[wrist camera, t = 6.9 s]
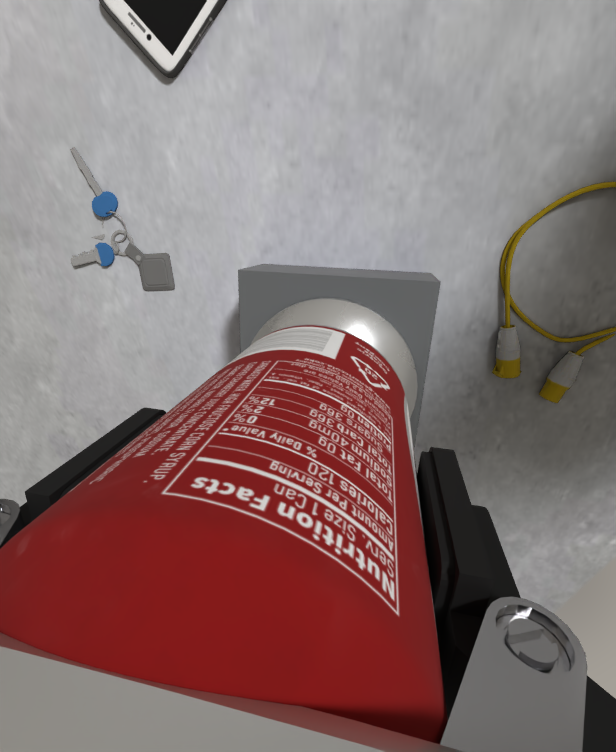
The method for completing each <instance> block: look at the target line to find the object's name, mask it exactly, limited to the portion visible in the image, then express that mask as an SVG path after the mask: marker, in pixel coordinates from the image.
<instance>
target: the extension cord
mask: <svg viewBox="0 0 616 752" xmlns="http://www.w3.org/2000/svg"><path fill="white" fill-rule="evenodd" d="M609 187H616V182H604V183H599V184H594V185H590V186H587V187H584V188H581V189H579V190H576V191H574V192H572V193H570V194H568V195H566V196H564V197H562V198H560V199H558V200H557V201H555V202H554V203H552V204H550V205H549V206H547V207H546V208H544V209H543V210H542V211H540V212H539V213H537V214H536V215H535V216H533V217H532V218H531V219H530V220H528V221H527V222H526V223H525V224H523V225H522V226H521V227H520V228H519V229H518V230H517V231H516V232H515V233H514V234H513V236H512V237H511V238H510V240H509V241H508V243H507V245H506V247H505V249H504V252H503V255H502V259H501V265H500V278H501V284H502V288H503V291H504V294H505V324H506V325H503V326H501V327H500V331H499V332H498V341H497V345H496V346H497V348H496V365H495V367H494V369H493V371H492V373H493V374H495V375H496V376H498V377H500V378H515V377H518V376H519V375H520V373H521V371H520V344H519V339H518V334H517V330H516V326H515V325H510V305H511V307H512V308H513V310H514V311H515V312H516V313H517V315H518V316H519V317H520V318H521V319H522V320H523V321H524V322H526V323H527V324H528V325H529V326H531V327H532V328H533V329H535V330H536V331H538V332H539V333H541V334H542V335H544V336H545V337H547V338H549V339H551V340H554V341H558V342H576V341H582V340H586V339H590V338H594V337H598V336H602V335H605V334H608V333H612V332H615V331H616V327H613V328H610V329H607V330H603V331H600V332H596V333H592V334H588V335H584V336H581V337H574V338H560V337H556V336H553V335H551V334H549V333H548V332H546V331H544V330H543V329H541V328H540V327H538V326H537V325H535V324H534V323H533V322H532V321H530V320H529V319H528V318H527V317H526V316H525V315H524V314H523V313H522V312H521V311H520V310H519V308H518V307H517V306H516V304H515V303H514V301H513V299H512V297H511V296H510V269H511V263H512V258H513V254H514V251H515V248H516V246H517V244H518V242H519V240H520V238H521V237H522V235H523V234H524V233H525V232H526V230H527V229H528V228H529V227H530V226H531V225H532V224H534V223H535V222H536V221H537V220H538V219H540V218H541V217H542V216H543V215H544V214H546V213H547V212H549V211H550V210H552V209H553V208H555V207H556V206H558V205H559V204H561V203H563V202H565V201H567V200H569V199H571V198H573V197H575V196H578V195H580V194H583V193H586V192H589V191H593V190H596V189H602V188H609ZM512 243H513V244H512ZM511 245H512V246H511ZM510 247H511V248H510ZM509 249H510V250H509ZM508 252H509V254H508ZM507 255H508V258H507ZM506 258H507V263H506ZM505 263H506V271H505ZM614 335H615V334H611V335H608V336H605V337H602V338H600V339H598V340H596V341H594V342H592V343H590V344H588V345H586V346H584V347H582V348H581V349H579V350H578V351H577V352H576V353H575V352H572V351H568V353H567V354H566V355H565V356H564V357H563V358H562V359H561V360H560V361H559V362H558V363H557V365H556V366H555V367H554V368H553V369H551V372H550V373H549V375H548V377H547V378H546V380H547V382H546V383H545V385H544V386H543V388H542V390H541V391H540V393H539V395H540V396H541V397H543V398H545V399H547V400H549V401H551V402H554V403H558V402H559V400H560V399H561V397H562V396H563V394H564V393H565V391H566V390H567V389H570V387H571V386H572V384H573V383H574V381H576V379H575V378H576V377H577V374H578V372H579V369H580V367H581V364H582V361H583V359H584V357H583V356H582V355H580V354H581V353H583V352H584V351H586V350H588V349H589V348H591V347H593V346H595V345H597V344H599V343H601V342H603V341H605V340H607V339H609V338H611V337H612V336H614Z"/></svg>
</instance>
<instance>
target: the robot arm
mask: <svg viewBox="0 0 616 752" xmlns="http://www.w3.org/2000/svg"><path fill="white" fill-rule="evenodd" d="M165 414H166V412H165V411H164V410H159V409H151V408H143V409H141V410H139V411H138V412H137V413H135V414H134V415H132V416H131V417H130V418H128V419H127V420H125V421H124V422H123V423H121V424H120V425H118V426H117V427H115V428H114V429H113V430H111V431H110V432H108V433H107V434H106V435H104V436H103V437H101V438H100V439H99V440H97V441H96V442H94V443H93V444H91V445H90V446H89V447H87V448H86V449H84V450H83V451H82V452H80V453H79V454H77V455H76V456H75V457H73V458H72V459H70V460H69V461H67V462H66V463H65V464H63V465H62V466H60V467H59V468H58V469H56V470H55V471H53V472H52V473H51V474H49V475H48V476H46V477H45V478H43V479H42V480H41V481H39V482H38V483H36V484H35V485H34V486H32V487H31V488H29V489H28V490H26V491H25V495H26V499H27V502H26V503H25V504H24V505H22V506H21V507H19V504H17V503H16V502H15V501H13V500H8V499H0V549H1V548H2V547H3V546H4V545H5V544H6V543H7V542H8V541H9V540H10V539H11V538H12V537H14V536H15V535H16V534H17V533H18V532H20V531H21V530H22V529H23V528H25V527H26V526H27V525H28V524H30V523H31V522H32V521H33V520H34V519H36V518H37V517H38V516H39V515H41V514H42V513H43V512H44V511H46V510H47V509H48V508H49V507H51V506H52V505H53V504H54V503H56V502H57V501H58V500H59V499H61V498H62V497H63V496H64V495H66V494H67V493H68V492H69V491H71V490H72V489H73V488H74V487H75V486H77V485H78V484H79V483H80V482H82V481H83V480H84V479H85V478H87V477H88V476H89V475H90V474H92V473H93V472H94V471H95V470H97V469H98V468H99V467H100V466H102V465H103V464H104V463H105V462H107V461H108V460H109V459H110V458H111V457H113V456H114V455H115V454H116V453H118V452H119V451H120V450H121V449H123V448H124V447H125V446H126V445H128V444H129V443H130V442H131V441H133V440H134V439H135V438H136V437H138V436H139V435H140V434H141V433H143V432H144V431H145V430H146V429H148V428H149V427H150V426H151V425H152V424H154V423H155V422H156V421H157V420H159V419H160V418H161V417H162V416H164V415H165ZM417 481H418V489H419V497H420V505H421V512H422V520H423V528H424V536H425V544H426V552H427V560H428V567H429V575H430V583H431V591H432V599H433V607H434V614H435V622H436V630H437V638H438V646H439V654H440V662H441V669H442V677H443V685H444V693H445V701H446V709H447V717H448V723H447V726H446V728H445V731H444V734H443V737H442V740H441V743H440V745H439V744H436V743H432V742H429V741H425V740H422V739H418V738H415V737H411V736H408V735H404V734H401V733H397V732H394V731H390V730H387V729H383V728H380V727H376V726H373V725H369V724H366V723H362V722H359V721H355V720H351V719H347V718H344V717H340V716H336V715H332V714H328V713H325V712H321V711H317V710H313V709H309V708H306V707H302V706H295V705H287V704H280V703H273V702H266V701H259V700H253V699H247V698H240V697H234V696H228V695H221V694H215V693H209V692H204V691H198V690H192V689H186V688H181V687H176V686H171V685H166V684H161V683H156V682H152V681H147V680H143V679H139V678H134V677H130V676H126V675H122V674H118V673H114V672H110V671H106V670H103V669H99V668H95V667H92V666H88V665H85V664H81V663H78V662H75V661H71V660H68V659H66V658H63V657H60V656H57V655H54V654H51V653H48V652H45V651H43V650H40V649H37V648H35V647H32V646H30V645H27V644H25V643H23V642H20V641H18V640H16V639H14V638H11V637H9V636H7V635H5V634H3V633H1V632H0V752H616V699H615V698H614V697H612V696H611V695H610V694H609V693H608V692H606V691H605V690H604V689H603V688H602V687H600V686H599V685H598V684H597V683H595V682H594V681H593V680H592V679H591V678H589V677H588V676H587V661H586V655H585V652H584V650H583V648H582V646H581V644H580V641H579V639H578V638H577V637H576V636H575V634H574V633H573V632H572V631H571V629H570V628H569V627H568V626H567V625H566V624H565V623H564V622H563V621H562V620H561V619H559V618H558V617H557V616H556V615H555V614H554V613H552V612H551V611H549V610H547V609H546V608H544V607H543V606H541V605H539V604H537V603H534V602H532V601H529V600H527V599H523V598H521V597H520V595H519V592H518V589H517V587H516V584H515V581H514V579H513V576H512V573H511V571H510V568H509V565H508V563H507V560H506V557H505V554H504V552H503V549H502V546H501V544H500V541H499V538H498V536H497V533H496V530H495V528H494V525H493V522H492V519H491V517H490V514H489V512H488V510H487V509H486V508H485V507H482V506H475V505H471V502H470V499H469V496H468V493H467V490H466V487H465V484H464V480H463V477H462V474H461V471H460V468H459V465H458V461H457V458H456V455H455V452H454V450H449V449H441V448H434V447H431V448H430V450H429V452H423V451H422V453H421V457H420V462H419V468H418V473H417Z"/></svg>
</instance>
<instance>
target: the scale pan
mask: <svg viewBox="0 0 616 752" xmlns="http://www.w3.org/2000/svg"><path fill="white" fill-rule="evenodd" d="M303 324H315V325H325V326H330V327H334V328H338V329H341V330H344V331H347V332H349V333H351V334H354V335H356V336H357V337H359V338H361V339H363V340H364V341H366V342H367V343H369V344H370V345H372V346H373V347H374V348H375V349H377V350H378V351H379V352H380V353H381V354H382V355H383V356H384V357H385V358H386V360H387V361H388V362H389V363H390V364H391V366H392V367H393V369H394V370H395V372H396V373H397V375H398V377H399V379H400V381H401V383H402V386H403V388H404V391H405V395H406V398H407V404H408V410H409V418H410V417H411V415H412V412H413V410H414V406H415V402H416V398H417V374H416V369H415V364H414V360H413V357H412V354H411V352H410V349H409V347H408V345H407V344H406V342H405V340H404V338H403V337H402V336H401V334H400V333H399V332H398V330H397V329H396V328H395V327H394V326H393V325H392V324H391V323H390V322H389V321H388V320H387V319H386V318H384V317H383V316H382V315H380V314H379V313H378V312H376V311H374V310H372V309H371V308H369V307H367V306H365V305H362V304H360V303H357V302H354V301H350V300H347V299H340V298H314V299H308V300H305V301H301V302H298V303H296V304H293V305H291V306H289V307H287V308H285V309H284V310H282V311H280V312H279V313H277V314H276V315H275V316H273V317H272V318H271V319H270V320H268V321H267V322H266V323H265V324H264V326H263V327H262V328H261V329H260V330H259V331H258V333H257V334H256V336H255V337H254V339H253V341H252V343H251V345H252V344H253V343H254V342H256V341H257V340H259V339H260V338H262V337H263V336H265V335H267V334H269V333H271V332H273V331H276V330H278V329H282V328H285V327H289V326H294V325H303ZM251 345H250V346H251Z"/></svg>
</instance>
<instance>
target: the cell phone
mask: <svg viewBox="0 0 616 752" xmlns="http://www.w3.org/2000/svg"><path fill="white" fill-rule="evenodd" d="M99 1H100V3H101V5H102V6H103V8H104V9H105V10H106V11H107V13H108V14H109V15H110V16H111V17H112V18H113V19H114V20H115V22H116V23H117V24H118V25H119V26H120V27H121V28H122V29H123V31H124V32H125V33H126V34H127V35H128V36H129V37H130V39H131V40H132V41H133V42H134V43H135V44H136V45H137V46H138V48H139V49H140V50H141V51H142V52H143V53H144V54H145V55H146V57H147V58H148V59H149V60H150V61H151V62H152V63H153V64H154V66H155V67H156V68H157V69H158V70H159V71H160V72H161V73H163V74H164V75H165V76H167V77H169V78H173V77H175V76H177V74H178V73H179V72H180V71H181V70H182V68H183V67H184V65H185V64H186V62H187V61H188V59H189V58H190V56H191V51H192V50H193V48H194V47H195V45H196V44H197V42H198V40H199V39H200V37H201V36H202V34H203V33H204V31H205V30H206V28H207V27H208V25H209V23H210V22H211V20H212V19H213V20H214V19H215V18H216V16H217V14H218V13H219V11H220V10H221V8H222V7H223V5H224V4H225V2H226V0H99Z"/></svg>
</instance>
